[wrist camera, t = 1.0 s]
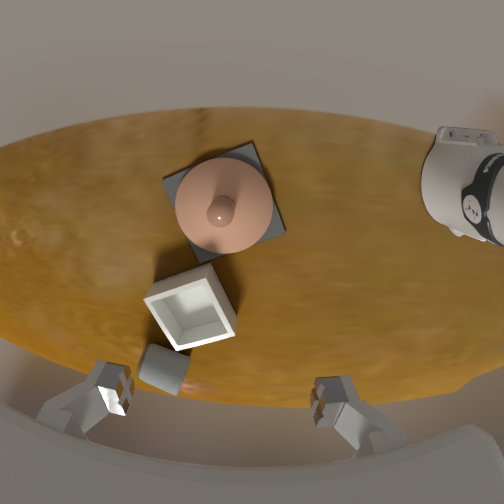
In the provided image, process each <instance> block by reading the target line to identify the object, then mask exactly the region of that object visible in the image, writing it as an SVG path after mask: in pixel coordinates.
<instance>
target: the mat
mask: <svg viewBox="0 0 504 504" xmlns="http://www.w3.org/2000/svg"><path fill="white" fill-rule="evenodd" d="M215 158H233V159H238V160H240V161H243V162H245V163H247V164H249V165H251V166H252V167H254V168H255V169H256V170H257V171H258V172H259V173H260V174H261V175H262V176H263V177H264V179H265V181H266V182H267V180H266V178H265V175H264V173H263V170H262V167H261V165H260V162H259V159H258V157H257V154H256V152H255V149H254V147H253V144H252V143H251V144H248V145H245V146H243V147H240V148H237V149H235V150H232V151H230V152H227V153H224V154H222V155H219V156H217V157H215ZM215 158H212V159H215ZM210 160H211V159H210ZM207 161H208V160H207ZM200 164H201V163H200ZM198 165H199V164H198ZM196 166H197V165H195V166H193V167H191V168H189V169H186V170H184V171H182V172H180V173H177V174H175V175H173V176H171V177H169V178H167V179H164V180H162V182H163V184H164V187H165V189H166V191H167V194H168V196H169V198H170V200H171V203H172V205H173V207H174V210H175V200H176V194H177V191H178V188H179V186H180V183H181V182H182V180H183V179H184V177H185V176H186V175H187V174H188V172H190V171H191V170H192V169H193V168H194V167H196ZM267 184H268V183H267ZM269 189H270V188H269ZM271 195H272V194H271ZM272 200H273V212H272V218H271V221H270V224H269V226H268V228H267V230H266V232H265V233H264V234H263V236H262V237H261V238H260V239H259V240H258V241H257V242H256V243H259V242H262V241H264V240H267V239H270V238H273V237H276V236H278V235H281V234H284V233H285V230H284V227H283V224H282V221H281V218H280V216H279V213H278V210H277V207H276V205H275V202H274V199H273V197H272ZM175 212H176V210H175ZM187 238H188V237H187ZM188 240H189V242H190V245H191V247H192V249H193V251H194V253H195V255H196V257H197V259H198V261H199V263H203V262H206V261H209V260H212V259H214V258H217V257H220V256H223V255H225V254H228V253H225V254H223V253H215V252H210V251H208V250H205V249H203V248H201V247H199V246H197V245H196V244H194V243H193V242H192V241H191V240H190V239H189V238H188ZM256 243H254V244H256Z"/></svg>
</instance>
